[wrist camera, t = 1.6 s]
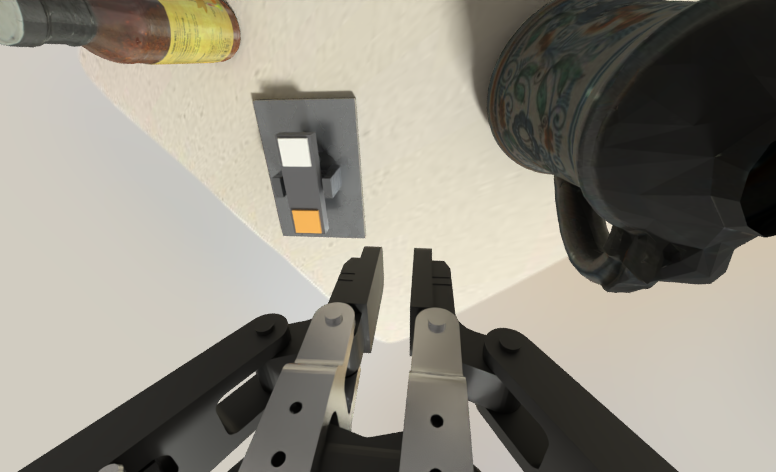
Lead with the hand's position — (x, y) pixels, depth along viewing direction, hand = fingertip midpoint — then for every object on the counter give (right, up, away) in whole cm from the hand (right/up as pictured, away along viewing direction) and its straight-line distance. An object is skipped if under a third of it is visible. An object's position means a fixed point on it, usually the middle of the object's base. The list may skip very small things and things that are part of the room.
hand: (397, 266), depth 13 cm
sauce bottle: (-19, +24, +21) cm, 37 cm away
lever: (-10, +7, +23) cm, 26 cm away
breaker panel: (-10, +9, +27) cm, 30 cm away
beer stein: (+19, +16, +20) cm, 32 cm away
